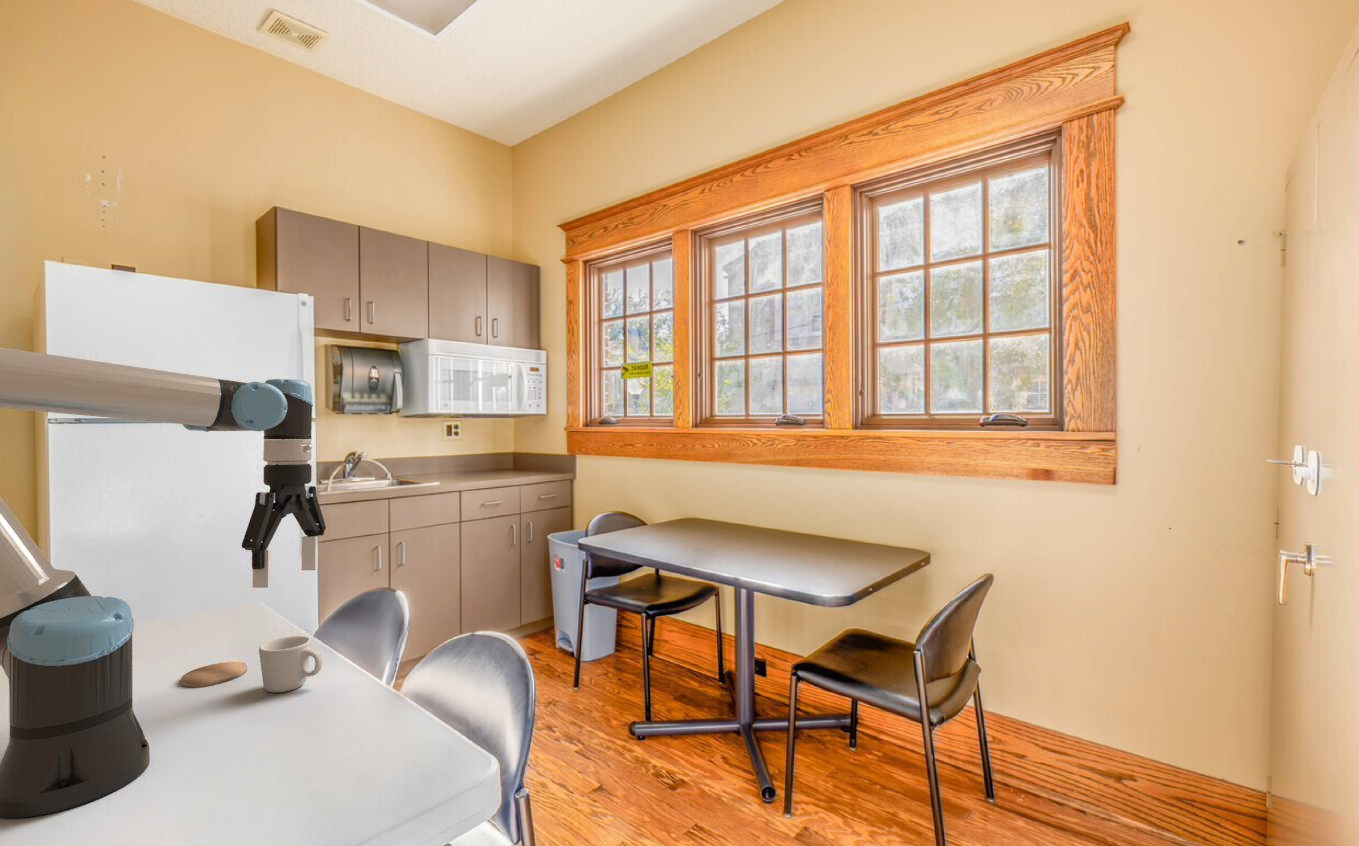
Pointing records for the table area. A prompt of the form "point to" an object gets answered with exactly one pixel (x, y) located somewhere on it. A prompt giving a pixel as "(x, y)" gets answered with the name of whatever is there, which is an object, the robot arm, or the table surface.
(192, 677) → the coaster
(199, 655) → the table surface
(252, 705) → the table surface
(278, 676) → the cup
